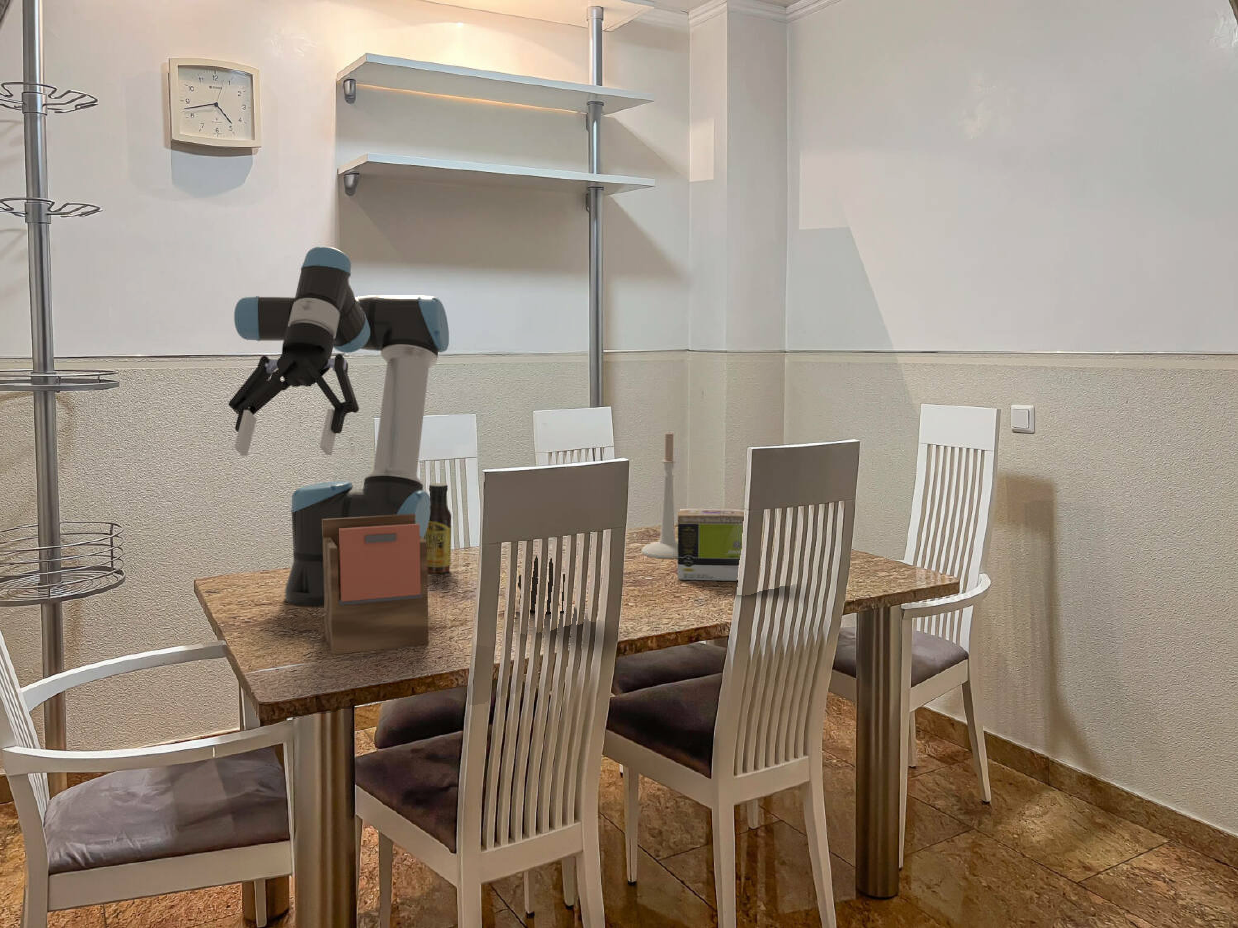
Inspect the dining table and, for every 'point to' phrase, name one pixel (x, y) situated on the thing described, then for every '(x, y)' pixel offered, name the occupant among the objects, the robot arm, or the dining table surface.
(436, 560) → the sauce bottle
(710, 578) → the tea box
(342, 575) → the panel
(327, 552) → the wooden box
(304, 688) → the dining table surface
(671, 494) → the candlestick
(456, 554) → the dining table surface
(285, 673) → the dining table surface
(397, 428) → the robot arm
